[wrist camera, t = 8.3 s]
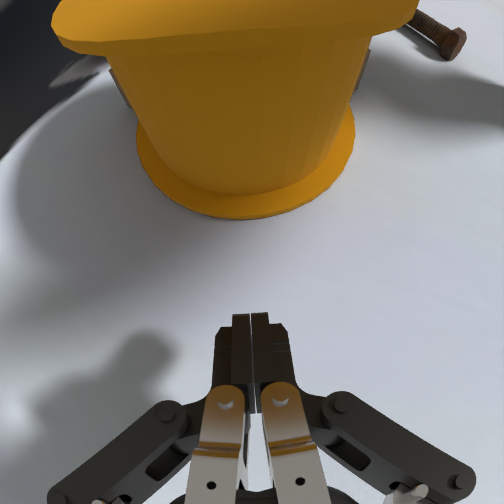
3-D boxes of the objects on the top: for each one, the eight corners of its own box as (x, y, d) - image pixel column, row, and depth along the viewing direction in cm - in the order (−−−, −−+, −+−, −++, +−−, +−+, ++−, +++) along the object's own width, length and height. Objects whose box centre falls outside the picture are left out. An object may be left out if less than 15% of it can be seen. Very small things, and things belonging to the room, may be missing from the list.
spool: (382, 108, 23) (442, -23, 8) (275, 271, 19) (316, 123, 5) (226, 38, 25) (212, -79, 11) (101, 151, 22) (7, 30, 8)
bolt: (366, 11, 30) (450, 65, 27) (353, 2, 27) (447, 60, 24) (382, -15, 26) (469, 38, 22) (370, -26, 23) (467, 29, 19)
